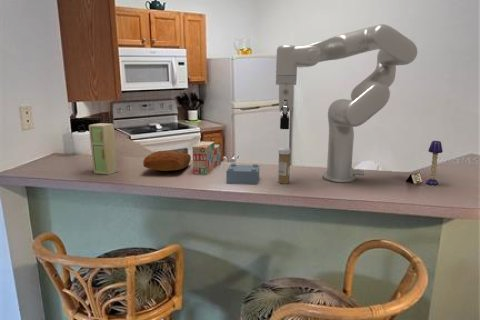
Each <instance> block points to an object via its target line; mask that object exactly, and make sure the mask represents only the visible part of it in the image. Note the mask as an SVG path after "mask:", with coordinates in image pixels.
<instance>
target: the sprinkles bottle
mask: <svg viewBox="0 0 480 320" xmlns="http://www.w3.org/2000/svg"><path fill="white" fill-rule="evenodd" d="M290 161H291V148H290V147H280V148H278V167H277V168H278V169H277V171H278V180H277V182H278V183H279V184H282V185H283V184H285V185H286V184H289V183H290V182H291V181H290V173H291V172H290V171H291V162H290Z"/></svg>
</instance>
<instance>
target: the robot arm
mask: <svg viewBox="0 0 480 320" xmlns="http://www.w3.org/2000/svg"><path fill="white" fill-rule="evenodd" d="M376 50H378V53H377V55H376V57H377V59H376V60H377V61H376V67H375V69H374V70H373V71H372V73H370V74H369V75H368V76H367V77H366V78H364V79H363V80H362V81H361V82H359V83H358V84H357V85H356V86H355V87H354V88H353V89H352V91H351V93H350V99H345V98H340V99H336V100H334V101H333V102H331V104H330V105H329V107H328V110H327V121H328V143H327V144H328V145H327V146H328V147H327V160H326V161H327V163H326V172H324V173H322V178H323V179H324V180H326V181H329V182H334V183H350V182H354V181H355V179H356V176H364V174H365V171H364V170H360V169H354V168H353V166H352V165H353V155H354V154H353V153H354V152H353V151H354V137H355V133H354V127H360V126H361V125H364V123H366V122H368V121H369V120H370V119H371V118H373V117H374V116H375V115H376V114H378V113H379V112H380V111H381V110H382V109H383V108H384V107H385V106H386V105H387V104H388V102H389V100H390V96H391V91H390V90H391V89H390V87H391V86H392V85H393V83H394V81H395V79H396V72H397V66H405V65H409V64H411V63H412V62H414V60H416V58H417V57H418V56H417V55H418V48H417V46H416V44H415V42H413V41H412V40H411V39H410V38H408V37H407V36H405V35H404V34H403V33H401V32H400V31H399V30H397V29H395V28H393V27H392V26H390V25H387V24H384V23H383V24H381V23H380V24H377V25H372V26H368V27H365V28H361V29H357V30H353V31H350V32H346V33H341V34H339V35H336V36H331V37H330V38H327V39H324V40H320V41H316V42H314V43H310V44H306V45H292V44H284V45H279V46H278V47H277V48H276V60H275V61H276V63H275V64H276V65H275V67H276V68H275V85H278V109H279V112H280V118H279V119H280V121H279V129H280V130H289V129H290V113H293V112H294V86H297V78H298V77H297V75H298V68H309V67H310V68H311V67H315V66H316V65H317V64H319V63H322V62H326V61H327V62H329V61H336V60H341V59H346V58H350V57H353V56H356V55H360V54H363V53H367V52H371V51H376Z"/></svg>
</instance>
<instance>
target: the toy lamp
mask: <svg viewBox="0 0 480 320" xmlns="http://www.w3.org/2000/svg"><path fill="white" fill-rule="evenodd" d="M442 145H443V144H442V141H439V140H432V141H431V143H430V144H429V147H428V152H429V153H432V158H431V159H432V160H431V168H430V177H429V179H427V180H426V181H425V184H426V185H429V186H432V185H434V186H436V185H437V186H439V182H438V180H437V179H436V174H437V173H436V172H437V163H438V158H439V157H438V155H439V154H442V153H443V152H444V151H443V146H442ZM434 186H433V187H434Z"/></svg>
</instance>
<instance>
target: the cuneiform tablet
mask: <svg viewBox="0 0 480 320" xmlns="http://www.w3.org/2000/svg"><path fill="white" fill-rule="evenodd" d="M191 159H192V156H191V154H188V153H186V152H178V151H172V150H171V151H166V150H162V151H161V150H159V151H155V152H152V153H150V154H148V155H147V156H146V157H144V159H143V160H142V161H143V164H142V165H143V167H144V168H146V169H150V170H154V171H161V172H175V171H179V170H184V169H185V168H187V167H188V166H189V165H190V162H191Z"/></svg>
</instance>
